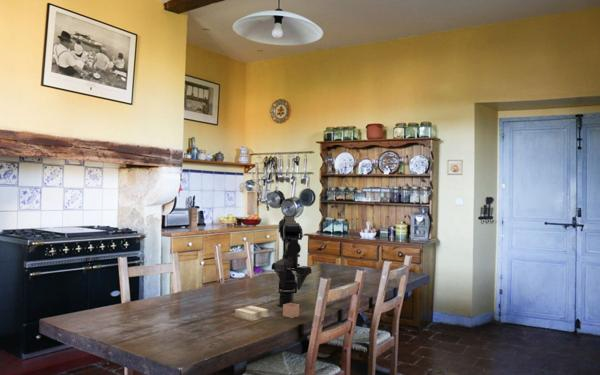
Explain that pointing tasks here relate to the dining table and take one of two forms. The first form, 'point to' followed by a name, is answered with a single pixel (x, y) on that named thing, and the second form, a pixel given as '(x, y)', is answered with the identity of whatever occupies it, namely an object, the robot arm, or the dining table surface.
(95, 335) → the dining table surface
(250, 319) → the base
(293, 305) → the cube
